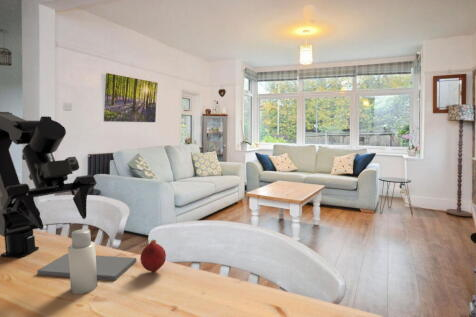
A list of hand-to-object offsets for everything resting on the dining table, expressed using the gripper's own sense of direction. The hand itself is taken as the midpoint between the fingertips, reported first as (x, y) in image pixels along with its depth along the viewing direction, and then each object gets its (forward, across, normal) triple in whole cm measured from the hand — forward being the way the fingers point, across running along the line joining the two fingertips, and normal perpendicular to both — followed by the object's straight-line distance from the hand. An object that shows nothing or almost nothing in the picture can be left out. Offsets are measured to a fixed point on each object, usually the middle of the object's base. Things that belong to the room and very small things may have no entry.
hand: (64, 223), depth 71 cm
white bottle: (+14, +1, +4) cm, 15 cm away
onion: (+18, +14, -2) cm, 23 cm away
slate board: (+9, +6, +10) cm, 15 cm away
